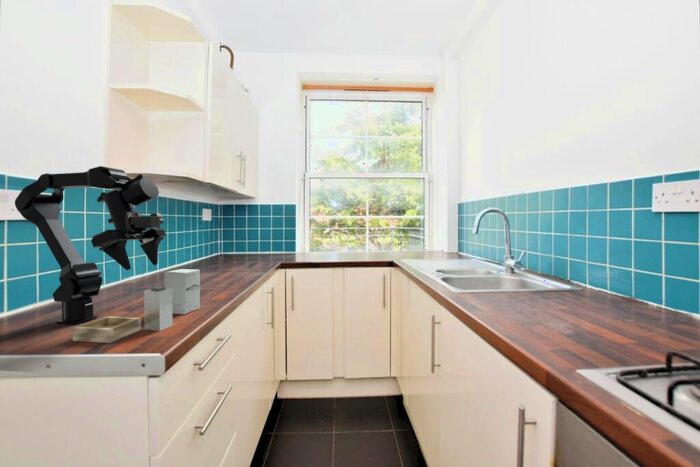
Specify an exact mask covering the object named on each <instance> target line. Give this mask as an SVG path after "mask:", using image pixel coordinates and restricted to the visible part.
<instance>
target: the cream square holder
mask: <svg viewBox="0 0 700 467" xmlns="http://www.w3.org/2000/svg"><path fill="white" fill-rule="evenodd" d="M141 330H142V318H141V317H130V316H129V317H127V316H111V315H110V316H108V315H107V316H105V317H104V316H103V317H101V318H97V319H95V320H92V321H90V322H87V323H86V322H85V323H83V324H79V325H78V326H74V327H72V341H73V342H87V343H90V342H91V343H104V344H105V343H107V344H110V343H113V342H115V341H118V340H120V339H122V337H123V338H125V337H127V336H130V335H132V334H134V333H137V332H139V331H141Z"/></svg>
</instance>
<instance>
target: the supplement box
mask: <svg viewBox="0 0 700 467" xmlns="http://www.w3.org/2000/svg"><path fill="white" fill-rule="evenodd" d="M163 274H164V275H163V277H164V278H163V280H164V282H163V283H164V284H163V287H166V288H172V315H173V314H174V315H186V314H188V313H191V312H194V311H195V310H199V309H200V308H201V304H200V303H201V270H200V269H194V268H193V269H191V268H190V269H189V268H180V269H175V270H168V271H164V272H163Z"/></svg>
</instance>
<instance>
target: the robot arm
mask: <svg viewBox="0 0 700 467" xmlns="http://www.w3.org/2000/svg"><path fill="white" fill-rule="evenodd" d="M79 188H80V189H81V188H97V189H104V190H111V191H108V192H102V191H101V192H100V195H99V196H98V197H97V199H96V202H97V203H105V205H106V208H107V211H108V213H109V215H110V218H108V219H107V221H108V224H113V227H114V229H106V230H104V231H101V232H99V233H97V234H94V235H92V238H91V244H92V247H93V249H98V250H99V251H101V252H104V253H105V254H106V255H107V256H109V257H111V259H113V261H115V262H116V263H118V265H119V266H121V267H122V268H123V269H124V270H125V271H129V270H131V269H132V267H131V262H130V259H129V256H128V253H127V249H126V246H127V244H128V243H127V242H129V241H138V242H139V243H141V244H139V246H140V248H141V249H142V251H143V252H144V253H145V255H146V257H147V258H148V260H149V262H150V263H151V264H152V265H153V266H157V265H158V263H159V262H158V261H159V260H158V259H159V258H158V257H159V246H160V243H161V241H163V240H164V239H165V237H167V233H166V231H165V229H164V228H161V225H163V223H164V217H163V216H162V213H160V212H151V213H150V215H143V214H142V213H141V211H140V212H139V211H136V208H135V207H139V206H141V205H143V204H146V203H148V202H150V201H152V200H154V199H157V198H158V197H159V196H160V192H159V188H158V186H157V185H156V184H155V183H154V182H153V181H152V180H151V179H150V178H149V177H148V175H147V174H138V175H137V176H136V177H134V178H130V177H129V176H128V175H127V173H126V172H125V170H123V169H118V168H112V167H108V166H102V165H101V166H100V165H99V166H96V167H92V168H89V169H88V170H87V171H84V172H83V171H82V172H65V173H42V174H40V175H39V177H38V178H37V180H35V181H34V182H32V183H29V184H28V185H26V186H24V188H23V189H22V190H21V191H20V193H19V194H18V195H17V196H16V198H15V200H14V206H15V208H16V210H17V211H18V213H19V214H20V215H21V216H22V217H23V219H25V220H26V221H29V222H31V224H33V225H35V226H36V227H37V229H38V231H39V232H40V234H41V235H42V238H43V240H44V242H45V243H46V244H47V247H48V248H49V250H50V252H51V253H52V255H53V257H54V259H55V261H56V262H57V264H58V265H59V267H60V273H59V276H58V277H59V278H58V279H59V283H60V285H59V286H58V287H57V288H56V289H55V291H53V292H52V298H53V301H54V302H58V303H60V302H61V319H59V320H58V319H57V320H56V321H55V322H56V324H68V325H69V324H71V325H72V324H73V325H78V324H81V323H84V322H85V323H86V322H88V321H91V320H93V319H96V318H97V319H98V315H94V303H93V297H97V296H98V295H99V293H100V290H101V286H102V283H103V277H102V272H101V271H100V270H99V268H98V266H97V264H96V263H95V261H94V262H93V261H92V262H86V261H84V260H83V258H82V257H81V255H80V254H79V252H78V250H77V248H76V247H75V245H74V243H73V241H72V240H71V237H69V235H68V233H67V231H66V229H65V227H64V226H63V225H62V224H63V223H61V221H60V219H59V218H60V212H61V208H60V205H61V203H62V202H63V201H64V191H65V190H66V189H79ZM48 189H53V192H52V193H51V194H47V193H45V192H46V191H47V190H48ZM134 206H135V207H134Z"/></svg>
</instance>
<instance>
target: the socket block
mask: <svg viewBox="0 0 700 467" xmlns="http://www.w3.org/2000/svg"><path fill="white" fill-rule="evenodd" d="M143 297H144V298H143V301H144V302H143V303H144V304H143V305H144V307H143V308H144V312H143V313H144V315H143V316H144V317H143V318H144V321H143V322H144V330H145V331H146V330H147V331H155V332H161V331H163V330H165V329H168V328H170V327H172V326H173V321H174V320H173V313H172V288H166V287H164V286H154V287H151V288H150V289H146V290H144V291H143Z"/></svg>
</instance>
